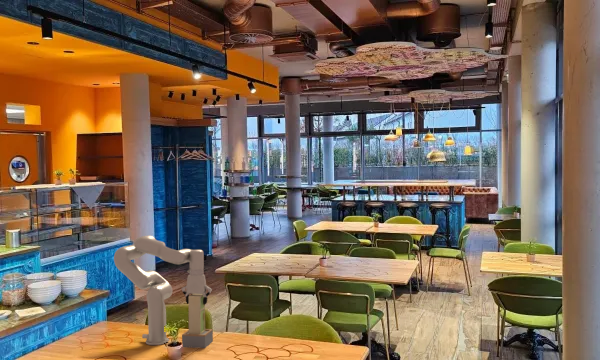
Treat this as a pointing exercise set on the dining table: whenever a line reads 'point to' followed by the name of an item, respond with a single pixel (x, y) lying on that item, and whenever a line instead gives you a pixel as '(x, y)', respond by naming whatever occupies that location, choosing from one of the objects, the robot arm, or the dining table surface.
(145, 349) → the dining table surface
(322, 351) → the dining table surface
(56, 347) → the dining table surface
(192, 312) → the toy refrigerator
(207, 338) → the grey open box
